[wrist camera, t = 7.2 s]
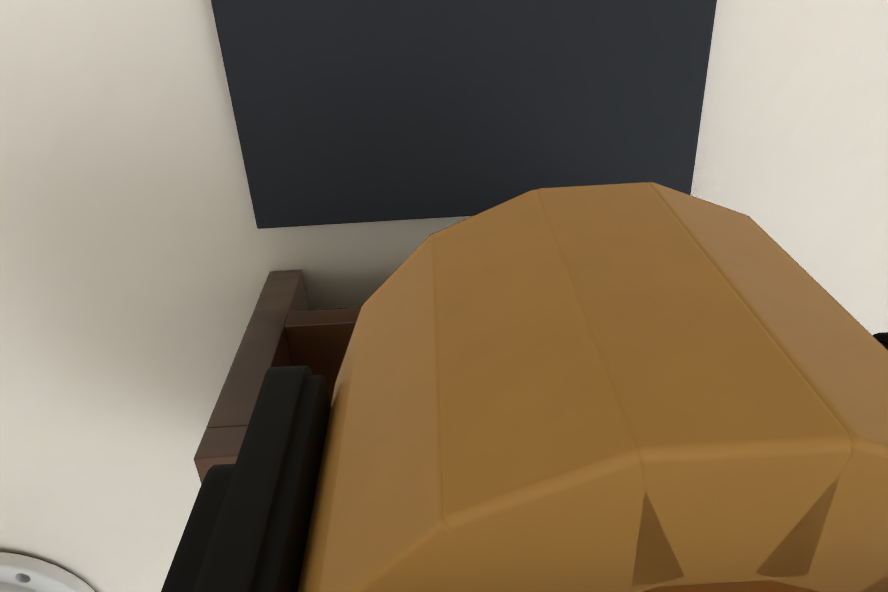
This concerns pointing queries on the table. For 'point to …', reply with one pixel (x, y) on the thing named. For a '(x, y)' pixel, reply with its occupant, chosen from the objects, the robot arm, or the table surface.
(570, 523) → the tape roll
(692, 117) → the mat
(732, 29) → the table surface
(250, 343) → the box
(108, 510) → the table surface
